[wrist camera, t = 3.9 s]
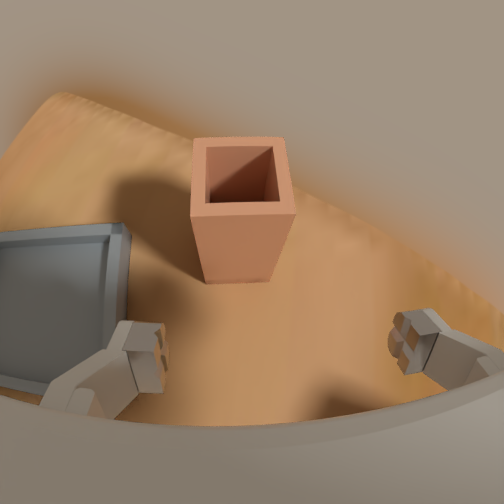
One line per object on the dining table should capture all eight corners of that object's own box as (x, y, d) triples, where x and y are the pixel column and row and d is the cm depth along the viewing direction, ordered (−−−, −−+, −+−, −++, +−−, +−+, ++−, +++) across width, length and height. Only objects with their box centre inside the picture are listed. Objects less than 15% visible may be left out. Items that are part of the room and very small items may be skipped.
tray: (127, 403, 20) (116, 406, 18) (-15, 378, 19) (-31, 376, 17) (131, 235, 26) (123, 222, 23) (-1, 243, 24) (-14, 233, 22)
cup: (269, 281, 25) (296, 213, 15) (206, 284, 24) (190, 216, 14) (264, 225, 27) (283, 137, 17) (205, 227, 26) (193, 138, 16)
